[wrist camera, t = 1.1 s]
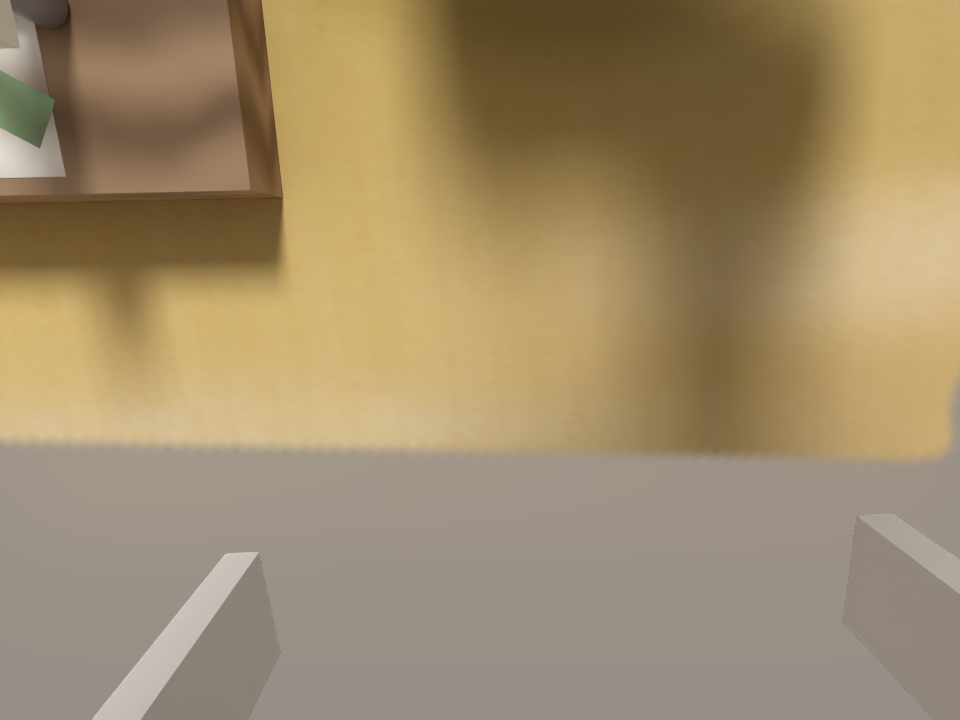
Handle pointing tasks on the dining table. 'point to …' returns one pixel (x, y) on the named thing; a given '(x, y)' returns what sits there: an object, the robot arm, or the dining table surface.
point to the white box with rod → (29, 17)
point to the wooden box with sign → (139, 104)
